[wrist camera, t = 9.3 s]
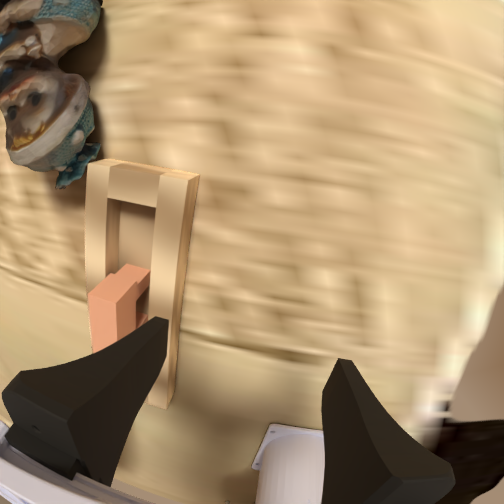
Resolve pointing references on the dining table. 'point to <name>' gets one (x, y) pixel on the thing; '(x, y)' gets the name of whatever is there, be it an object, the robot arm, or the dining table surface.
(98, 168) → the rail
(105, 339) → the tall salmon pink block
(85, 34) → the figurine
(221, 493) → the dining table surface
